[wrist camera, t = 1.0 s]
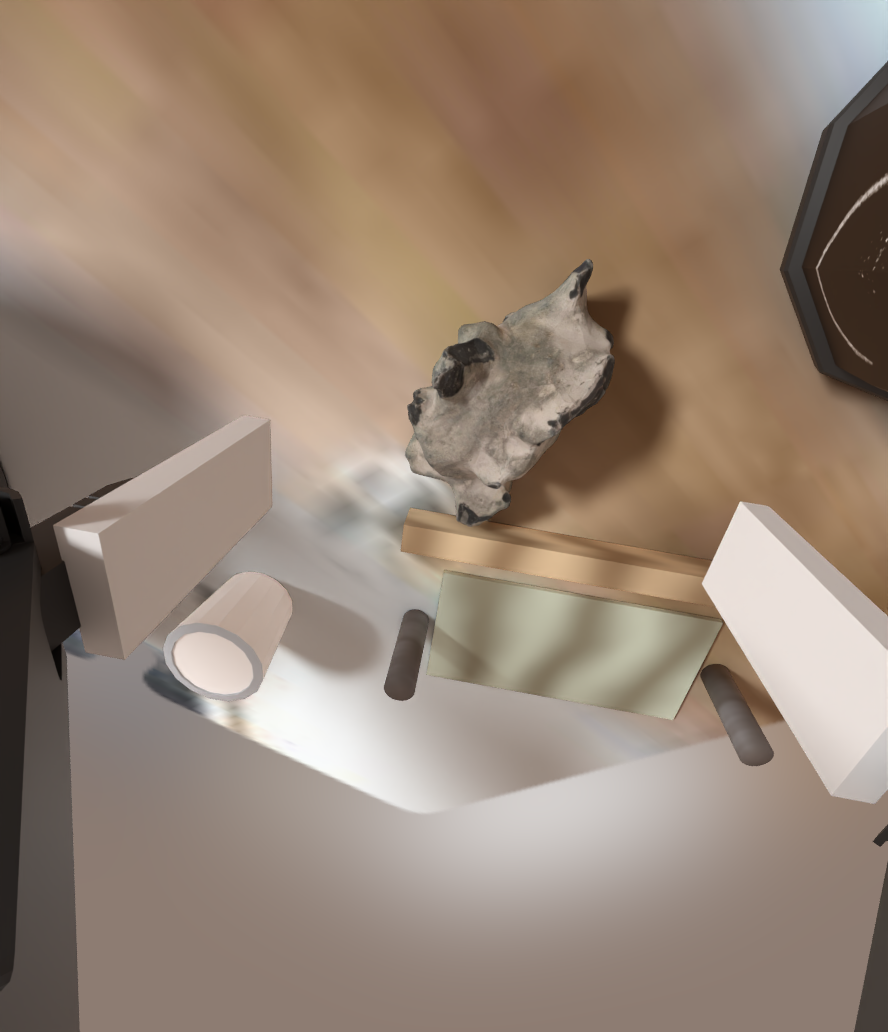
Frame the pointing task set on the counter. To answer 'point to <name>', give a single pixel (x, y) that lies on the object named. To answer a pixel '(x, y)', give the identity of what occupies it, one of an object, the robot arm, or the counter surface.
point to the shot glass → (230, 637)
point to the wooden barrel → (846, 245)
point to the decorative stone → (508, 396)
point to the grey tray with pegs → (568, 625)
